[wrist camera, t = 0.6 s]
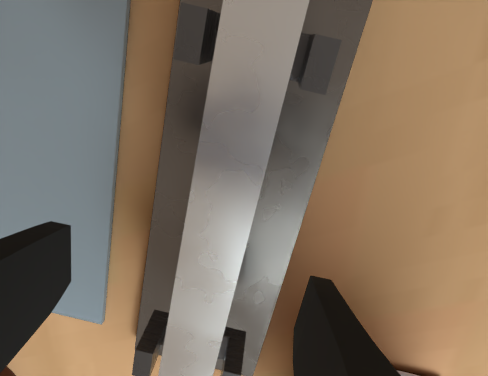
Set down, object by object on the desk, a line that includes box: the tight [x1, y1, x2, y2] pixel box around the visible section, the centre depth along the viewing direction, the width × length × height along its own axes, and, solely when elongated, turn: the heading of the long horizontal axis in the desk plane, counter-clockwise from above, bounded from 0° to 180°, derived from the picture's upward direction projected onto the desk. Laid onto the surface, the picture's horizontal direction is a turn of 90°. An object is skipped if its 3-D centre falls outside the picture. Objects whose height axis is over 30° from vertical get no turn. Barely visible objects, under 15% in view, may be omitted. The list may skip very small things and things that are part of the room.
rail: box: [158, 0, 309, 376], centre depth 14 cm, size 20×2×2 cm, turn 168°
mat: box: [0, 0, 131, 324], centre depth 20 cm, size 24×9×1 cm, turn 168°
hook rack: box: [132, 0, 373, 376], centre depth 17 cm, size 26×8×7 cm, turn 168°
